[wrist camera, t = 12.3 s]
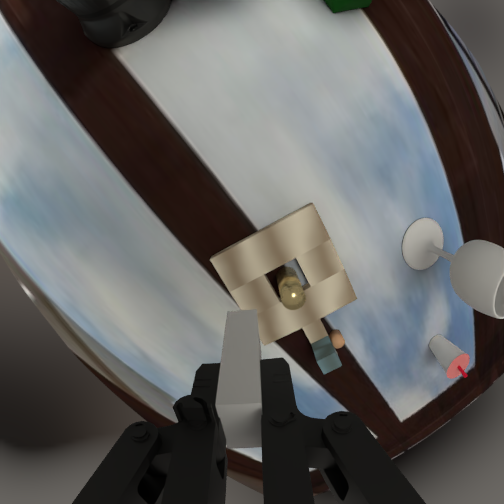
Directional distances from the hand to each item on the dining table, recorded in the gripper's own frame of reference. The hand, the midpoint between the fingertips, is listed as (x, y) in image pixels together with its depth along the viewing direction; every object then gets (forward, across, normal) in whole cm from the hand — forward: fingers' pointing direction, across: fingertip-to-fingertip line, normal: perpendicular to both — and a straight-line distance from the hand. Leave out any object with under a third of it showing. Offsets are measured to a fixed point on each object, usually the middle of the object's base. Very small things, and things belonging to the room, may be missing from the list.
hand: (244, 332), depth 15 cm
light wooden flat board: (+27, +6, -12) cm, 30 cm away
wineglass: (+27, +28, -5) cm, 39 cm away
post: (+27, +5, -8) cm, 28 cm away
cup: (+26, +34, -26) cm, 50 cm away
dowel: (+26, +12, -19) cm, 35 cm away
